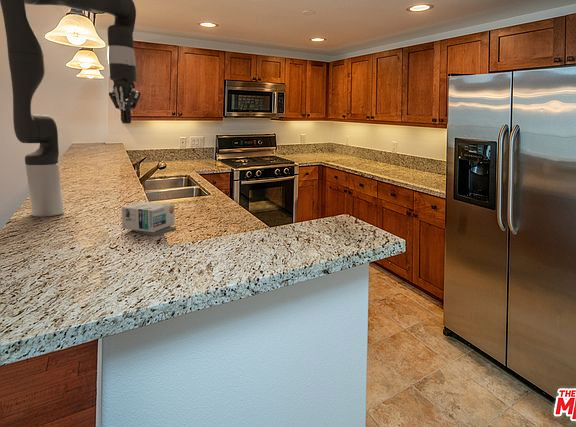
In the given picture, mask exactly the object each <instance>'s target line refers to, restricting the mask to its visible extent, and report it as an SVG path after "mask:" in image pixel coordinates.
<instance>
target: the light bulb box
mask: <svg viewBox="0 0 576 427" xmlns="http://www.w3.org/2000/svg"><path fill="white" fill-rule="evenodd" d="M121 220H122V222H121V223H122V229H124V230H130V231H132V230H138V231H146V232H153V233H154V232H156V231H159V230H161V229H163V228H166V227H169V226H171V227H173V226H175V222H176V221H175V204H172V203H163V202H152V201H141V202H138V203H133V204H129V205H124V206H121Z"/></svg>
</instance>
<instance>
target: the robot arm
mask: <svg viewBox="0 0 576 427" xmlns="http://www.w3.org/2000/svg"><path fill="white" fill-rule="evenodd" d="M26 5H29V6H58V7H66V8H69V9H72V10H73V9H74V10H77V11H78V10H79V11H83V12H88V13H95V14H98V13H100V12H102V13H105V14H109V15H111V16H113V17H114V21H113V24H111V25H109V26H108V27H107V30H106V35H107V36H106V37H107V38H106V39H107V62H108V74H109V79H110V81H112V82H113V86H112V89H113V90H112V91H110V92H109V93H108V96H109V99H110V100H111V101H112V103H113V105H114V107H115V108H116V109H117V110H119V111H120V118H121V124H128V125H129V124H131V123H132V114H131V113H132V112H131V111H133V110H135V109H136V108H137V106H138V102H139V100H140V97H141V95H142V94H141V91H138V90H137V89H136V86H135V83H136V82H137V79H138V78H137V65H136V55H135V54H136V53H135V50H134V49H135V48H134V46H135V45H134V36H133V35H134V31H135V30H134V29H135V24H136V18H137V9H136V5H135V2H134V1H133V0H0V6H1V12H2V16H3V22H4V29H5V36H6V47H7V58H8V65H9V70H10V71H9V72H10V79H11V87H12V88H11V90H12V112H13V113H12V116H13V117H12V118H13V130H14V134H15V136H16V138H17V141H19V142H20V143H23V144H39V147H38V148H37V150H35V151H32V152H31V153H29V154H26V155H25V156H24V164H25V172H26V179H27V185H28V193H29V199H30V208H31V216H33V217H40V218H41V217H43V218H44V217H53V216H60V215H62V214H64V213H65V209H64V201H63V191H62V182H61V175H60V166H59V154H60V153H59V152H60V150H59V134H58V132H59V131H58V127H57V123H56V121H55V119H54V118H53V117H52V116H51V115H47V114H38V113H37V114H36V113H35V114H33V113H32V101H33V96H34V94H35V93H36V91H37V89H38V88H39V86H40V85H41V84H42V81H43V79H44V78H45V75H46V64H45V63H46V62H45V54H44V53H45V52H44V49H43V46H42V45H41V42H40V40H39V38H38V37H37V34H36V33H35V31H34V29H33V27H32V25H31V23H30V22H29V18H28V15H27V9H26V8H27V7H26Z"/></svg>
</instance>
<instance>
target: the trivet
mask: <svg viewBox="0 0 576 427" xmlns="http://www.w3.org/2000/svg"><path fill="white" fill-rule="evenodd" d="M131 231H132V232H136V233H139V234H142V235H147V236H151V237H157V236H161V235H163V234H164V235H165V234H168V233H172V232H176V231H177V227H174V226H169V227H166V228H163V229H161V230H159V231H156V232H154V233H153V232H146V231H138V230H131Z"/></svg>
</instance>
